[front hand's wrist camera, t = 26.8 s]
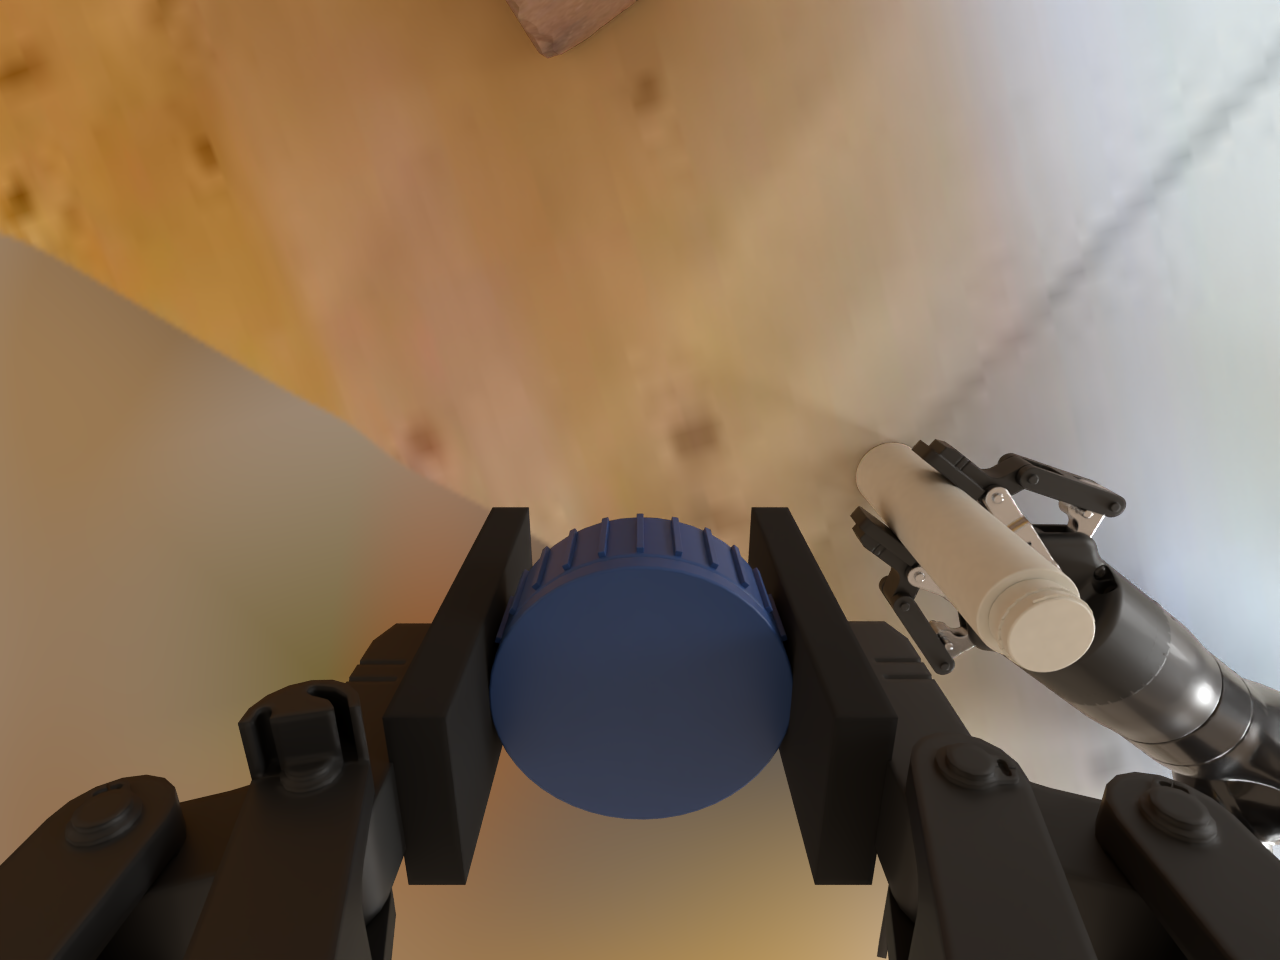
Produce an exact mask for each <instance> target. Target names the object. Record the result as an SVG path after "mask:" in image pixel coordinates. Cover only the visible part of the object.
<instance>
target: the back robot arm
mask: <svg viewBox="0 0 1280 960" xmlns="http://www.w3.org/2000/svg"><path fill="white" fill-rule="evenodd" d="M911 450H912V451H913V452H915V453H916V454H917V455H918V456H919V457H921V458H922V459H923V460H924V461H926V462H927V463H928V464H929V465H931V466H932V467H933V468H934V469H936V470H937V471H938V472H939V473H941V474H942V475H943V476H945V477H946V478H947V479H948V480H950V481H951V482H952V483H953V484H955V485H956V486H957V487H959V488H960V489H961V490H963V491H964V492H965V493H966V494H968V495H969V496H970V497H971V498H973V499H974V500H975V501H976V502H977V503H979V504H980V505H981V506H982V507H984V508H985V509H986V510H987V511H988V512H990V513H991V514H992V515H993V516H995V517H996V518H997V519H998V520H999V521H1001V522H1002V523H1003V524H1004V525H1005V526H1007V527H1008V528H1009V529H1010V530H1012V531H1013V532H1014V533H1015V534H1016V535H1018V536H1019V537H1020V538H1021V539H1023V540H1024V541H1025V542H1026V543H1027V544H1029V545H1030V546H1031V547H1032V548H1033V549H1035V550H1036V551H1037V552H1038V553H1040V554H1041V555H1042V556H1043V557H1044V558H1046V559H1047V560H1048V561H1049V562H1051V563H1052V564H1053V565H1054V566H1055V567H1057V568H1058V569H1059V570H1060V571H1061V572H1063V573H1064V574H1065V575H1066V576H1068V577H1069V578H1070V579H1071V580H1072V581H1073V583H1074V584H1075V585H1076V587H1077V589H1078V592H1079V595H1080V599H1082V600H1083V601H1084V602H1086V603H1087V604H1088V606H1089V607H1090V609H1091V610H1092V612H1093V616H1094V619H1095V622H1094V623H1095V634H1094V638H1093V641H1092V643H1091V645H1090V647H1089V648H1088V650H1087V651H1086V652H1085V653H1084V655H1083V656H1082V657H1081V658H1079V659H1078V660H1077V661H1075V662H1074V663H1072V664H1071V665H1069V666H1067V667H1065V668H1062V669H1059V670H1056V671H1051V672H1035V671H1030V670H1027V669H1025V668H1023V667H1021V666H1019V665H1017V664H1016V665H1017V666H1019V667H1020V668H1022V669H1023V670H1024V671H1026V672H1027V673H1028V674H1030V675H1031V676H1033V677H1034V678H1035V679H1037V680H1038V681H1039V682H1041V683H1042V684H1044V685H1045V686H1046V687H1047V688H1049V689H1050V690H1052V691H1053V692H1054V693H1056V694H1057V695H1058V696H1060V697H1061V698H1063V699H1064V700H1065V701H1067V702H1068V703H1069V704H1071V705H1072V706H1074V707H1075V708H1076V709H1078V710H1079V711H1080V712H1082V713H1083V714H1085V715H1086V716H1088V717H1089V718H1091V719H1092V720H1094V721H1096V722H1098V723H1099V724H1101V725H1103V726H1105V727H1107V728H1109V729H1111V730H1113V731H1115V732H1116V733H1118V734H1120V735H1121V736H1122V737H1124V738H1125V739H1126V740H1128V741H1129V742H1130V743H1132V744H1133V745H1135V746H1136V747H1137V748H1139V749H1140V750H1141V751H1143V752H1144V753H1145V754H1147V755H1148V756H1149V757H1151V758H1152V759H1153V760H1155V761H1156V762H1158V763H1160V764H1161V765H1163V766H1165V767H1167V768H1169V769H1170V770H1172V775H1173V780H1175V781H1178V782H1181V783H1184V784H1186V785H1188V786H1190V787H1192V788H1194V789H1196V790H1198V791H1200V792H1201V793H1203V794H1205V795H1207V796H1209V797H1211V798H1212V799H1214V800H1215V801H1216V802H1218V803H1219V804H1220V805H1221V806H1223V807H1224V808H1225V809H1226V810H1228V811H1229V812H1230V813H1231V814H1233V815H1234V816H1235V817H1236V818H1237V819H1238V820H1239V821H1240V822H1241V823H1242V824H1243V825H1244V826H1245V827H1246V828H1247V829H1248V830H1249V831H1250V832H1251V833H1252V834H1253V835H1254V836H1255V837H1256V838H1257V839H1258V840H1259V841H1260V842H1261V843H1262V844H1263V845H1264V846H1265V847H1266V848H1268V849H1269V850H1270V851H1271V852H1272V853H1273V849H1272V846H1273V845H1280V691H1277V690H1275V689H1272V688H1270V687H1267V686H1265V685H1263V684H1260V683H1257V682H1254V681H1251V680H1247V679H1244V678H1242V677H1240V676H1239V675H1238V674H1237V673H1236V672H1234V671H1233V670H1231V669H1230V668H1229V667H1228V666H1226V665H1225V664H1224V663H1223V662H1221V661H1220V660H1219V659H1218V658H1216V657H1215V656H1214V655H1213V654H1211V653H1210V652H1209V651H1208V650H1207V649H1206V648H1205V647H1204V646H1202V644H1201V643H1200V642H1199V641H1198V640H1197V638H1196V637H1195V636H1194V635H1193V634H1192V633H1191V632H1190V631H1189V630H1188V629H1187V628H1186V627H1185V626H1184V625H1183V624H1182V623H1181V622H1179V621H1178V620H1177V619H1176V618H1174V617H1173V616H1172V615H1171V614H1169V613H1168V612H1167V611H1166V610H1164V609H1163V607H1162V606H1161V605H1159V603H1157V602H1156V601H1154V600H1152V599H1151V598H1150V597H1148V596H1147V595H1146V594H1145V593H1143V592H1142V591H1141V590H1140V589H1138V588H1137V587H1136V586H1135V585H1133V584H1132V583H1131V582H1130V581H1128V580H1127V579H1126V578H1125V577H1123V576H1122V575H1121V574H1120V573H1118V572H1117V571H1116V570H1115V569H1114V568H1112V567H1111V566H1110V565H1109V564H1107V563H1106V562H1105V561H1104V560H1102V559H1101V557H1100V556H1099V554H1098V550H1097V546H1096V543H1095V542H1094V540H1093V539H1092V538H1091V537H1092V535H1093V534H1094V532H1095V531H1096V529H1097V527H1098V526H1099V524H1100V523H1101V521H1102V519H1103V518H1104V516H1107V517H1116V516H1118V515H1120V514H1121V513H1122V512H1123V511H1124V509H1125V507H1126V502H1125V499H1124V498H1122V497H1121V496H1119V495H1117V494H1115V493H1114V492H1112V491H1110V490H1108V489H1107V488H1105V487H1103V486H1101V485H1100V484H1098V483H1096V482H1094V481H1092V480H1090V479H1087V478H1084V477H1081V476H1078V475H1075V474H1072V473H1069V472H1066V471H1063V470H1060V469H1057V468H1054V467H1052V466H1049V465H1046V464H1043V463H1040V462H1037V461H1034V460H1031V459H1028V458H1025V457H1022V456H1019V455H1016V454H1013V453H1008V454H1005V455H1003V456H1002V457H1001V458H1000V459H999V461H998V464H997V465H995V466H993V467H991V468H989V469H980V468H978V467H977V466H976V465H975V464H973V463H972V462H971V461H970V460H968V459H967V458H966V457H965V456H963V455H962V454H961V453H960V452H958V451H957V450H956V449H955V448H953V447H952V446H950V445H949V444H947V443H946V442H944V441H941V440H937V439H935V440H934V441H933V442H932V443H931V444H930V445H929V446H928V445H926V444H925V443H924V442H922V441H921V440H920V441H919V442H918V443H917V444H916V445H915V446H914V447H913V448H912V449H911ZM1023 489H1027V490H1029V491H1032V492H1035V493H1038V494H1041V495H1044V496H1047V497H1050V498H1053V499H1056V500H1059V508H1060V510H1061V511H1063V512H1064V513H1066V514H1067V515H1068V518H1069V521H1068V524H1067V525H1063V524H1030V522H1029V521H1028V520H1027V519H1026V518H1025V517H1024V516H1023V514H1022V513H1021V511H1020V510H1019V508H1018V507H1017V505H1016V503H1015V502H1014V500H1013V499H1012V497H1011V496H1012V495H1014V494H1016V493H1018V492H1019V491H1021V490H1023ZM850 516H851V517H852V519H853V520H854V522H855V523H856V525H855V526H854V527H853V528H852V529H853V531H854V532H855V534H856V536H857V537H858V539H859V540H860V542H861V543H862V545H863V546H864V547H865V548H866V549H868V550H869V551H870V552H872V553H873V554H875V555H876V556H878V557H879V558H880V559H881V560H883V561H884V562H885V563H887V564H888V565H890V566H891V571H890V573H889V575H888V576H885V577H884V578H882V579H881V581H880V583H879V588H880V590H881V592H882V593H883V595H884V596H885V598H886V599H887V601H888V602H889V604H890V605H891V607H892V608H893V610H894V611H895V613H896V614H897V616H898V617H899V619H900V620H901V622H902V623H903V625H904V626H905V628H906V629H907V631H908V632H909V634H910V635H911V637H912V638H913V640H914V641H915V643H916V644H917V646H918V647H919V649H920V650H921V652H922V653H923V655H924V656H925V657H926V659H927V660H928V662H929V663H930V665H931V666H932V668H933V669H934V671H935V672H936V673H937V674H940V675H945V674H948V673H950V672H951V671H952V670H953V669H954V667H955V662H954V660H953V659H952V658H954V657H956V656H958V655H960V654H962V653H963V652H965V651H967V650H969V649H971V648H973V647H974V646H976V647H977V648H979V649H982V650H987V651H994V650H992V649H991V648H989V647H988V646H987V645H986V644H985V643H984V642H983V641H982V640H981V638H980V637H979V636H978V635H977V634H976V632H975V631H974V630H973V629H972V627H971V626H970V625H969V624H968V623H967V621H966V620H965V619H964V618H963V617H962V615H961V614H960V613H959V612H958V615H959V621H960V626H961V627H959V628H950V627H948V626H947V625H946V624H945V623H943V622H936V621H934V620H932V621H930V622H928V621H927V619H926V618H925V616H924V615H923V613H922V611H921V610H920V608H919V607H918V605H917V604H916V602H915V601H914V598H915V596H916V594H917V592H918V590H919V588H921V589H924V590H927V591H929V592H932V593H935V594H938V595H940V596H942V597H944V598H945V599H946V600H948V598H947V597H946V596H945V595H944V593H943V592H942V591H941V590H940V589H939V587H938V586H937V585H936V584H935V583H934V581H933V580H932V579H931V578H930V576H929V575H928V574H927V573H926V572H925V570H924V569H923V568H922V567H921V565H920V564H919V563H918V562H917V561H916V559H915V558H914V557H913V556H912V555H911V553H910V552H909V551H908V550H907V548H906V547H905V546H904V545H903V544H902V542H901V541H900V540H899V539H898V538H897V536H896V535H895V534H894V533H893V531H892V530H891V529H890V528H889V527H887V526H886V525H885V524H883V523H882V522H881V521H879V520H878V519H876V518H875V517H874V516H872V515H871V514H870V513H868V512H867V511H866V510H864V509H863V508H862V507H860V506H858V507H857V509H856V510H855V511H854V512H853V513H852V514H851V515H850ZM948 601H949V600H948ZM994 652H996V651H994ZM1002 655H1003V654H1002ZM1004 656H1005V655H1004ZM1005 657H1006V656H1005ZM1006 658H1007V657H1006ZM1010 661H1011V660H1010ZM1013 663H1014V662H1013Z"/></svg>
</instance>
